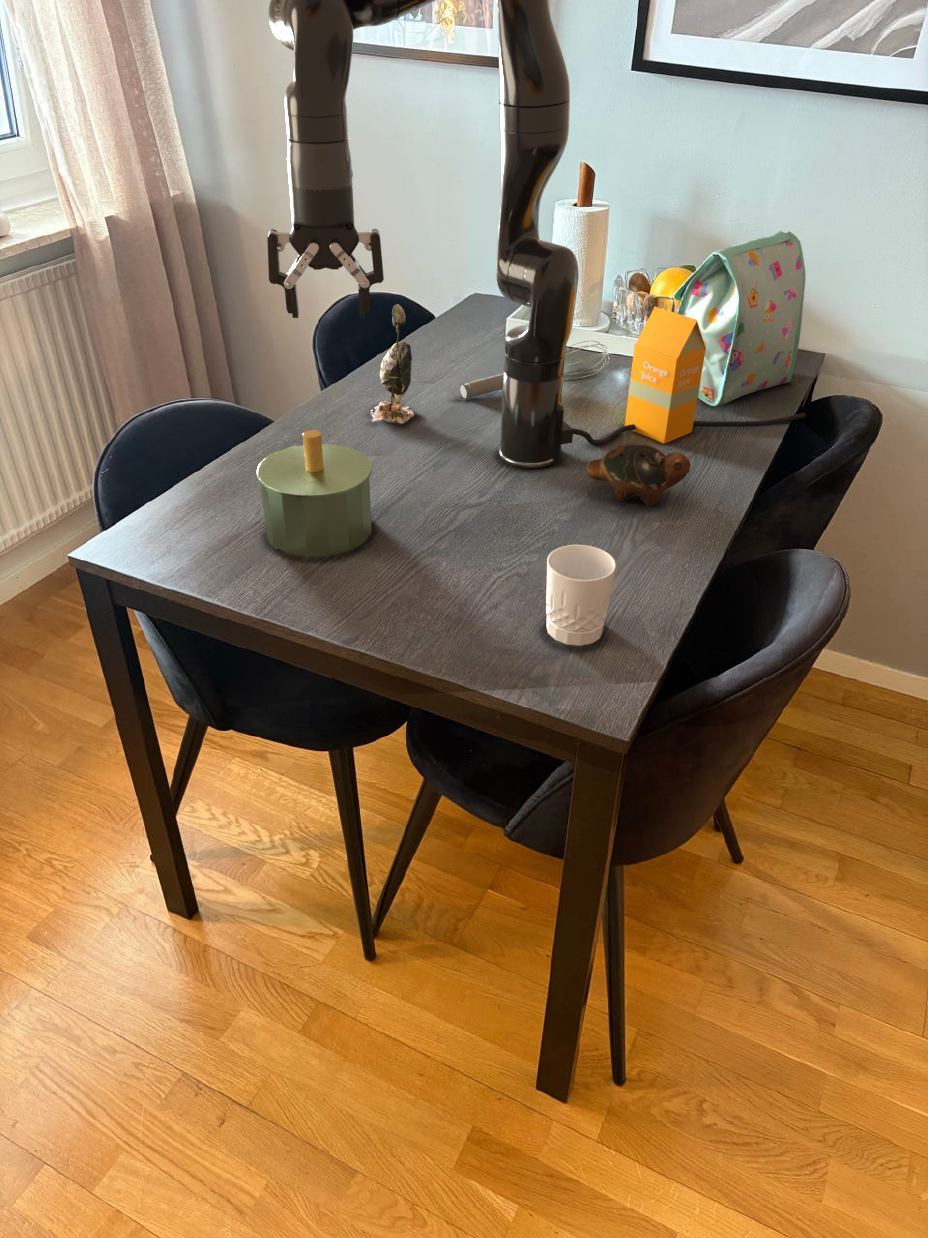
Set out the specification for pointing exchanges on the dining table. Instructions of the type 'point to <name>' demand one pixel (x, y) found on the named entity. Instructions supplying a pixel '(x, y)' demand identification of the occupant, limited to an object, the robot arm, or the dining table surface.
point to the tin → (318, 522)
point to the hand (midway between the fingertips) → (329, 315)
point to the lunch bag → (747, 315)
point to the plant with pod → (395, 377)
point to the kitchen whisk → (497, 380)
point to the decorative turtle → (639, 471)
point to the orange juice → (665, 376)
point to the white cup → (578, 593)
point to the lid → (314, 469)
